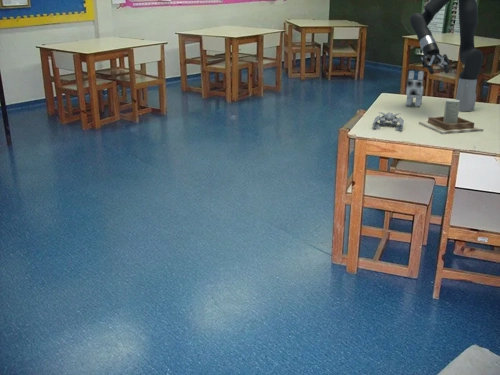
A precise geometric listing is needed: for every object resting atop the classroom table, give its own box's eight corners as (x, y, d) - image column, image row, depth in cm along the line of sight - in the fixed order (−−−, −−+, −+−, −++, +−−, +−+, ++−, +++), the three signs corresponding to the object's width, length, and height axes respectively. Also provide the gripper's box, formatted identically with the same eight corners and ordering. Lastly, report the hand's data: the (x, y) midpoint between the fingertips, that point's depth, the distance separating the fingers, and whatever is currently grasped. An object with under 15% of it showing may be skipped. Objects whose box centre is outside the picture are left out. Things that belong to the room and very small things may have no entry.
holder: (456, 121, 266) (457, 114, 265) (483, 131, 248) (484, 123, 247) (418, 123, 261) (419, 116, 259) (442, 134, 243) (443, 126, 241)
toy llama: (422, 102, 307) (426, 68, 300) (418, 108, 292) (422, 72, 285) (408, 101, 310) (412, 67, 303) (404, 107, 295) (408, 71, 288)
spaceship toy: (372, 131, 249) (373, 118, 247) (375, 121, 267) (376, 109, 264) (402, 133, 245) (403, 120, 243) (403, 123, 263) (405, 111, 261)
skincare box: (457, 124, 255) (460, 100, 250) (456, 126, 251) (459, 101, 247) (443, 123, 257) (446, 98, 253) (442, 125, 253) (445, 100, 249)
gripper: (420, 42, 263) (431, 69, 257) (445, 41, 267) (456, 67, 260) (413, 52, 270) (424, 78, 263) (437, 51, 273) (448, 76, 267)
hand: (440, 72), depth 262 cm, fingers open, 8 cm apart
